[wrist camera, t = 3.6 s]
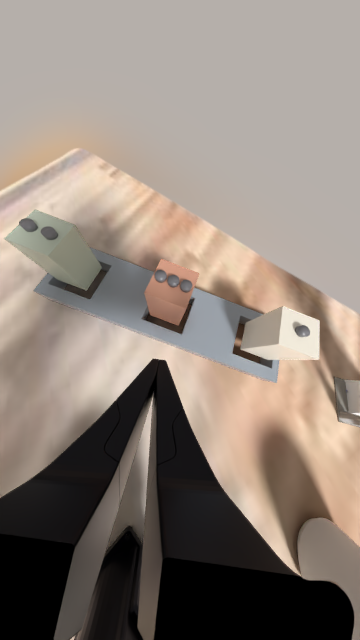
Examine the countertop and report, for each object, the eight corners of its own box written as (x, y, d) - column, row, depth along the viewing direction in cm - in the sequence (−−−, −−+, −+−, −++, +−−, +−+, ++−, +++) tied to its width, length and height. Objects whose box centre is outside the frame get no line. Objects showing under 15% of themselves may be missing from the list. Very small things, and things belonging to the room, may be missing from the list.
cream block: (271, 332, 22) (324, 319, 15) (267, 359, 20) (324, 359, 13) (245, 322, 22) (286, 304, 14) (240, 349, 20) (282, 343, 13)
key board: (270, 326, 25) (283, 322, 23) (263, 380, 22) (276, 382, 20) (83, 253, 25) (74, 241, 22) (49, 299, 22) (33, 290, 19)
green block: (102, 267, 21) (71, 220, 14) (86, 290, 20) (43, 251, 13) (75, 257, 21) (30, 204, 14) (57, 279, 20) (-2, 234, 13)
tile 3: (187, 300, 21) (200, 270, 14) (178, 325, 20) (187, 306, 13) (161, 290, 21) (161, 255, 14) (150, 315, 20) (143, 290, 13)
